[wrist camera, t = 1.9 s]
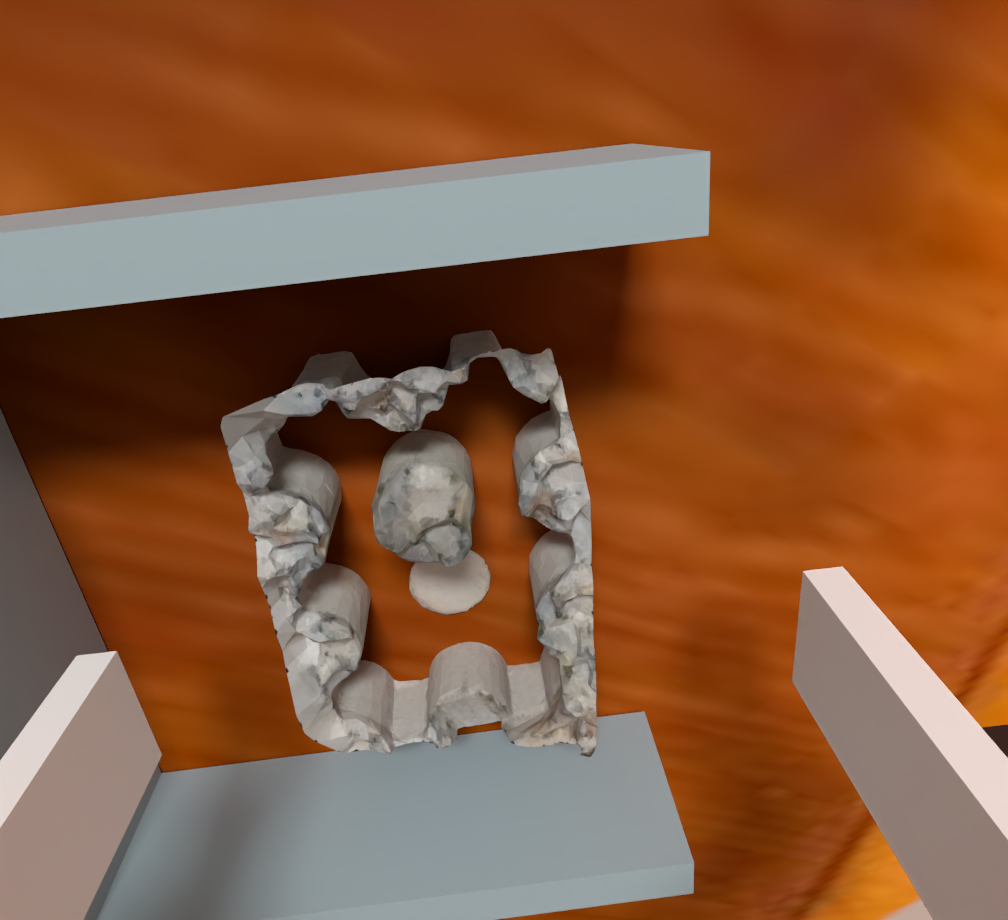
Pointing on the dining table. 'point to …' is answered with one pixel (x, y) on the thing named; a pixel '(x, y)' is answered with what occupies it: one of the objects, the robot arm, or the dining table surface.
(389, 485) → the egg carton
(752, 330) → the dining table surface
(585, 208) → the open side box
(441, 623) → the dining table surface
